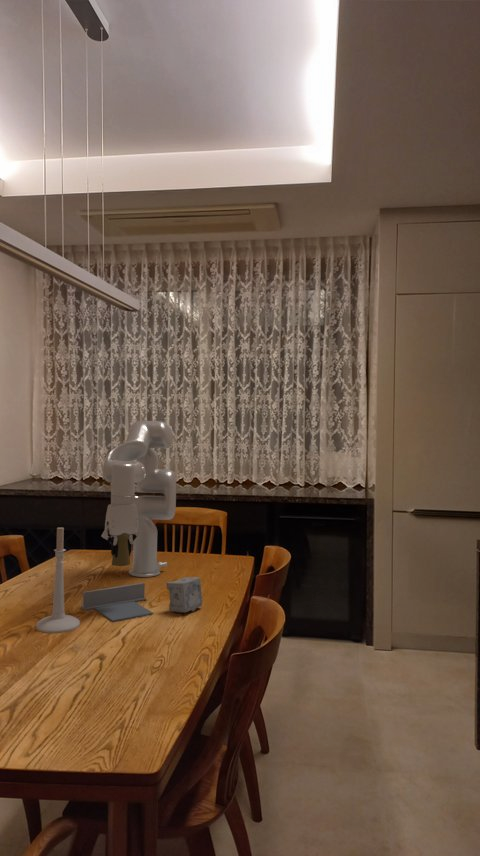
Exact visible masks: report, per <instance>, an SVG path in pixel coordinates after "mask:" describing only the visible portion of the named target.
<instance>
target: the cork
mask: <svg viewBox="0 0 480 856" xmlns="http://www.w3.org/2000/svg"><path fill="white" fill-rule="evenodd" d="M129 537H130V535H129V534H127V533H122V534H121V535H119V536H117V545H118V556H117V558H115V555H113V556H112V559H111V566H115V567H124V566H125V567H127V566H130V565H131V558H130V557H131V555H130V556H129V550H128V540H129Z"/></svg>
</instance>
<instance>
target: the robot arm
mask: <svg viewBox="0 0 480 856" xmlns="http://www.w3.org/2000/svg"><path fill="white" fill-rule="evenodd" d="M173 442H174V433H173V431H172V429H171V426H169V424H168V423H166V422H164V421H162V420H138V421H135V422H133V423H132V424H131V425H130V428H129V431H128V434H127V436H126V440H125V442H123V443H121V444H119V445H118V446H115V447H114V448H113V449H111V450H110V451H109V452H108V454H107V455H106V458H105V460H104V463H103V467H102V478H103V479H104V481H106V482H107V483H111V489H110V491H111V492H110V504H108V505H107V509H106V513H105V522H104V531H103V532H102V534H101V536H100V537H101V538H103V539H104V540H106V541H108V543H110V545H111V546H110V547H111V548H110V549H111V550H110V554H111V556H112V557H113V555H115V558H117V556H118V545H117V536H119V535H121V534H122V533H127V534H129V535H130V537H129V540H128V550H129V556H130V557H131V553H132V568H130V569H128V574H129V575H130V576H132V577H135V578H139V577H140V578H150V577H151V578H152V577H156V576H159V575H161V574H160V573H161V568H164V567H165V568H166V567H168V563H167V562H168V561H164V562H163V561H158V560H157V559H158V558H157V556H158V552H157V551H158V529H157V526H156V524H155V523H154V522H153V520H157V521H160V520H161V521H170V520H172V519H173V518H174V517H175V515H176V507H177V505H176V504H177V478H176V473H175V472H174V471H173V470H171V469H165V468H162V469H159V456H158V454H157V452H156V450H155V449H165V450H166V449H169V448H171V447H172V446H173ZM135 485H136V487H137V490H138V491H140V492H141V493H142V492H143V493H157V494H158V493H159V494H160V493H161V494H163V495H164V496H163V495H139V496H137V495H136V494H135V488H136V487H135ZM132 544H133V545H132ZM132 546H133V550H132Z"/></svg>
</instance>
